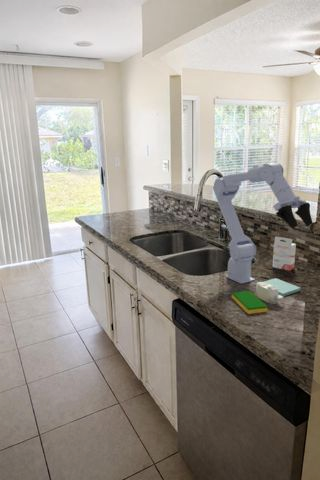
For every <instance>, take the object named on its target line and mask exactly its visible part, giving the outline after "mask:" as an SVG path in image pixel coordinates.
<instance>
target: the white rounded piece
mask: <svg viewBox="0 0 320 480" xmlns="http://www.w3.org/2000/svg"><path fill="white" fill-rule="evenodd" d="M278 291H279V289H278V288H277V287H275V286H272V285H270V284H267V283H265V282H264V281H258V282H256V288H255V296H256V297H257V298H258V299H259V300H261V301H262V302H266V303H268V304H271V305H274V304H277V303H278V302H280V301H283V300H284V297H285V296H281V295H278Z"/></svg>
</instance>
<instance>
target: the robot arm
mask: <svg viewBox="0 0 320 480" xmlns="http://www.w3.org/2000/svg"><path fill="white" fill-rule="evenodd" d="M284 172H285V171H284V166H283V165H282V164H280V163H263V164H262V165H259V164H257V165H256V164H255V165H252V167H250V168H249V169H248V170H247V172H239V173H232V174H228V175H224V176H221V177H218V178H217V177H216V179H215V180H214V182H213V186H212V189H213V192H214V195H215V198H216V200H217V203H218V206H219V208H220V212H221V214H222V216H223V217H222V218H223V219H224V221H225V225H226V227H227V230H228V232H229V235H230V237H231V240H230V241H229V244H228V249H229V254H230V257H229V259H228V262H227V275H226V276H225V277H226V278H228V279H229V280H232V281H234V282H237V283H238V284H246V283H249V282H252V281H255V280H256V279H255V278H253V277H252V276H251V275H252V260H253V259H254V257H255V256H256V254H257V246H256V245H255V243H254V242H253V241H252V239H251V237H249V236H247V235H246V234H245V233H244V230H243V227H242V225H241V223H240V220H239V217H238V214H237V212H236V209H235V208H234V205H233V202H232V201H233V200H234V198H235V197H236V195H237V193H238V192H239V190H240V186H241V185H242V182H246V181H249V182H250V183H252V184H253V183H261V182H266V184H267V185H269V187H270V189H271V191H272V193H273V194H274V196H275V197H276V199H277V202H276V203H275V204H274V205H273V207H272V208H274V211H276V213H275V214H276V215H275V216H277V217H278V218H280V219H282V221H284V222H285V223H286V224H287V225H288V226H289V227H290V228H291V229H295V228H296V227H297V226H298V222H297V220H296V218H295V215H297V217H299V218H300V219H301V221H302V222H303V223H304V225H305V226H306V227H310V226H311V225H312V224H313V219H312V214H311V204H310V203H309V202H307V200H306V199H301V197H300V196H297V195H296V194H295V193H294V191H293V189H292V187H291V185H290V184H289V182H288V180H287V179H286V177H285V175H284ZM293 209H297V210H296V211H295V212H293ZM294 214H295V215H294Z"/></svg>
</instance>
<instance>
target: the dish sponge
mask: <svg viewBox="0 0 320 480" xmlns="http://www.w3.org/2000/svg"><path fill="white" fill-rule="evenodd" d="M231 299H232V300H234V302H235V303H236V304H237V305H239V306H240V307H241V308H242V310H243V311H244V312H246V314H249V315H251V314H260V313H267V311H268V305H267V304H266V303H265V302H264V301H263V300H261V299H259V298H257V297H256V294H253V293H252V292H251V291H250V290H243V291H242V290H241V291H233V292H231Z"/></svg>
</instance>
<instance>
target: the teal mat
mask: <svg viewBox="0 0 320 480" xmlns="http://www.w3.org/2000/svg"><path fill="white" fill-rule="evenodd" d="M263 282H265V283H267V284H270V285H272V286H275V287H277V288H278V289H279V291H278V295H281V296H283V297H285V296H288V295H291V294H294V293H295V294H296V293H298V292H300V291H301V287H300V286H298V285H294V284H292V283H289V282H286V281H285V280H281V279H279V278H276V277H275V278H271V279H268V280H265V281H263Z"/></svg>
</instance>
